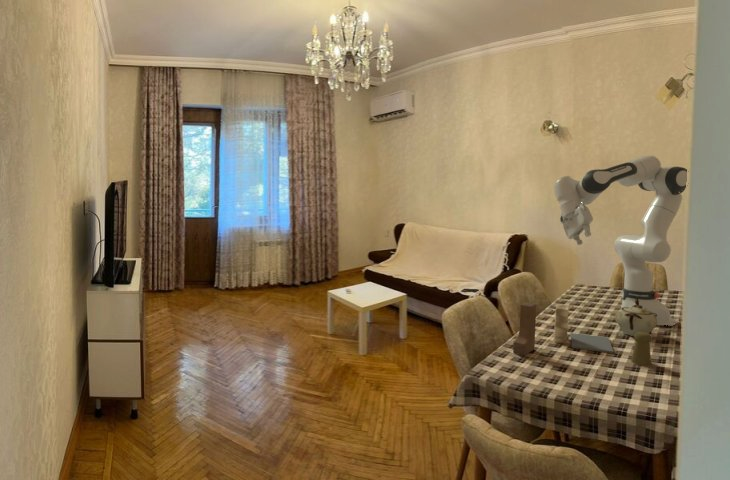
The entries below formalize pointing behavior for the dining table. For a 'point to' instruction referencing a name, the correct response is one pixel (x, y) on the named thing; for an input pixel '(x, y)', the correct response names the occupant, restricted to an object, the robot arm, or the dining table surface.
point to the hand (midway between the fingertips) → (584, 240)
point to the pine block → (561, 324)
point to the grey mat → (591, 342)
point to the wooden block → (526, 330)
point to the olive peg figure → (642, 349)
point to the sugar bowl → (635, 319)
